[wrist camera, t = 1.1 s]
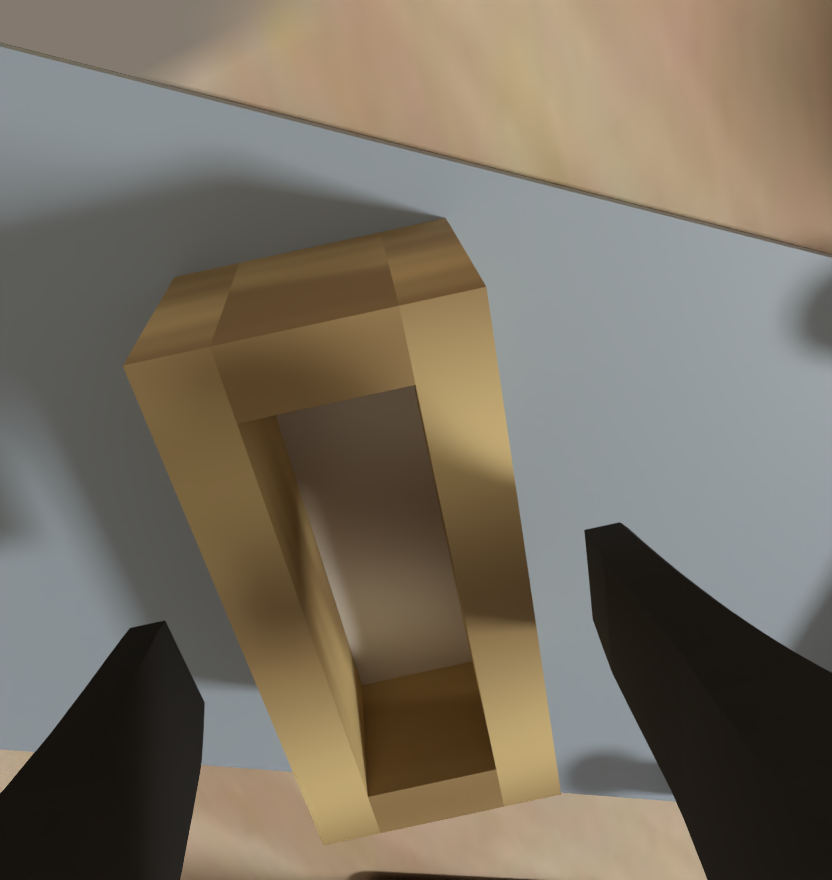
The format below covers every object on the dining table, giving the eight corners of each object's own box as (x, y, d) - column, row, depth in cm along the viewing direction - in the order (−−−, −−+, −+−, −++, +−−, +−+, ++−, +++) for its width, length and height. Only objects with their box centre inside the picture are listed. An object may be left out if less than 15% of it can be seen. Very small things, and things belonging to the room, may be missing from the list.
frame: (518, 652, 19) (561, 793, 16) (324, 694, 19) (323, 845, 16) (446, 217, 14) (486, 286, 10) (175, 276, 14) (122, 365, 10)
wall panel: (855, 801, 25) (940, 927, 21) (-14, 731, 19) (-87, 884, 16) (1208, 350, 17) (1421, 431, 14) (-22, 37, 12) (-159, 45, 9)
